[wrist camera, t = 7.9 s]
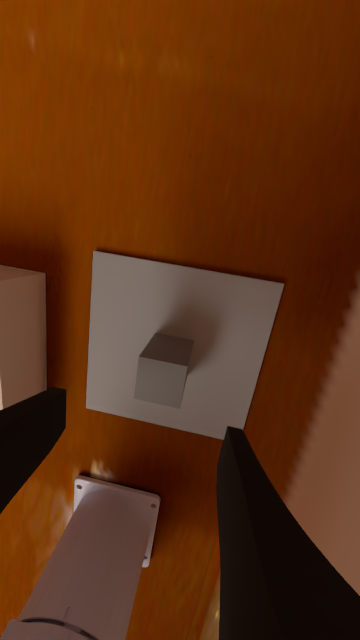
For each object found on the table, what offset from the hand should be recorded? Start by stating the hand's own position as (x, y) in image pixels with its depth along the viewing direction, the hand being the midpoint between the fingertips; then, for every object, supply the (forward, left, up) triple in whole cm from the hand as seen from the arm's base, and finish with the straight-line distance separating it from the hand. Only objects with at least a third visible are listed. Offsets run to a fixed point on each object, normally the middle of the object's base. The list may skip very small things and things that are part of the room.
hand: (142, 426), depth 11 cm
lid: (0, 0, -9) cm, 9 cm away
